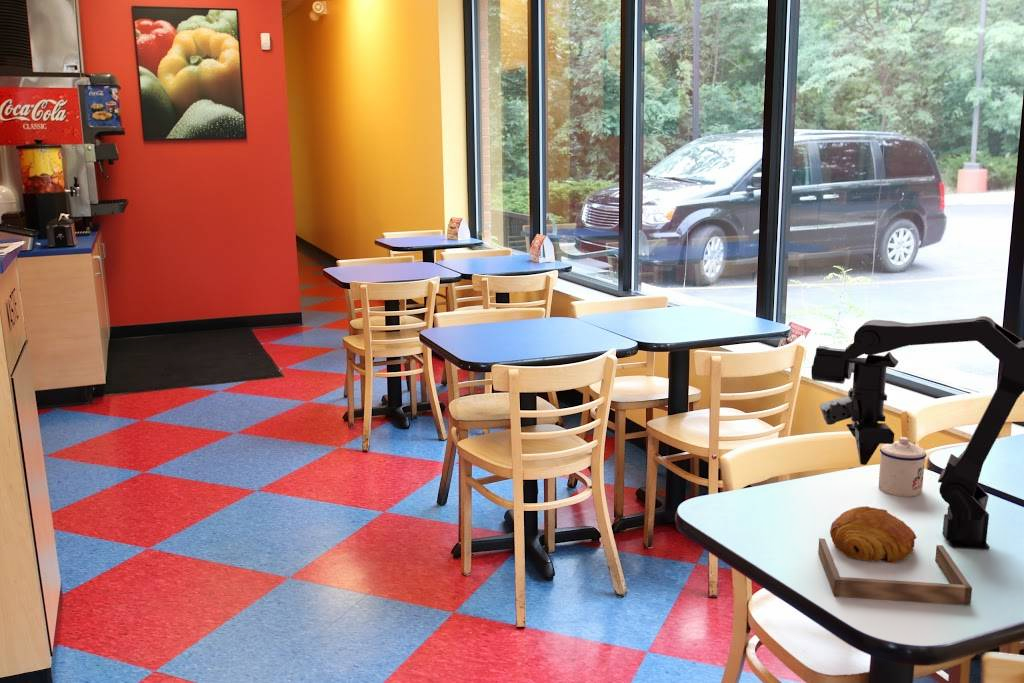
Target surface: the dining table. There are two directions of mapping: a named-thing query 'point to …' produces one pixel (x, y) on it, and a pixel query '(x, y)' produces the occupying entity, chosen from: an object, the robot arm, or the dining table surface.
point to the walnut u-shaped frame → (900, 583)
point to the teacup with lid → (902, 468)
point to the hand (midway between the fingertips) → (863, 464)
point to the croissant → (872, 535)
